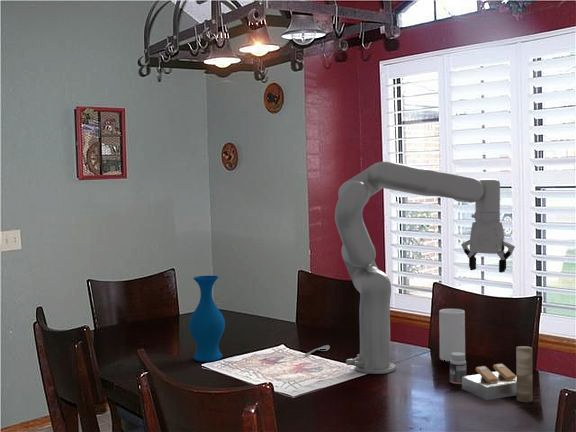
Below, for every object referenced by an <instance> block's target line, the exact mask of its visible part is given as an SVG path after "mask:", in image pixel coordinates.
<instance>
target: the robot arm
mask: <svg viewBox="0 0 576 432" xmlns="http://www.w3.org/2000/svg"><path fill="white" fill-rule="evenodd" d="M382 189H385V190H386V189H387V190H391V191H397V192H401V193H407V194H411V195H417V196H422V197H423V196H424V197H441V198H448V199H452V200H454V201H456V202H459V203H475V204H474V205H475V206H474V207H475V209H474V210H475V211H474V213H471V214H470V215H471V218H472V219H474V221H472V224H471V228H470V235H469V236H470V237H469V240H467V241H465V242H463V243H461V247H462V249H463V252H464V254H466V255H465V256H467V258H468V267H469V270H470V271H475V270H476V269H477V257H476V255H477V254H488V255H489V254H492V255H497V256H498V257H499V261H498V272H499V273H505V271H506V270H507V259H508V258H509V257H510V256H511V255H512V254H513V252H514V250H515V248H516V247H515V245H513V244H512V243H510V242H508V241H506V240H505V232H504V226H503V223H502V221H501V183H500V180H499V179H497V178H480V179H477V178H475V177H471V176H464V175H460V174H459V175H458V174H455V173H448V172H445V171H444V172H443V171H438V170H434V169H429V168H423V167H419V166H413V165H408V164H403V163H398V162H392V161H379V162H375V163H374V164H372V165H370V166H368V167H367V168H365V169H364V170H363V171H361V172H359V173H358V174H355V176H353V177H351V178H350V179H348V180H346V181H345V182H344V183H342V184H341V185H340V187H339V189H338V192H337V196H338V200H337V202H336V205H335V209H334V210H335V211H334V221H335V225H336V228H337V232H338V234H339V237H340V240H341V242H342V245H341V257H342V260H343V262H344V265H345V267H346V269H347V272H348V275H349V277H350V279H351V282H352V284H353V286H354V288H355V289H356V290H357V291H358V292H359V294H360V295H359V296H360V297H359V298H360V299H359V311H358V312H359V313H358V314H359V318H358V319H359V353H358V354H356V357H354V358H346V360H345V364H346V365H347V366H354V367H355V370H356V371H358V372H360V373H364V374H371V375H374V374H375V375H381V374H382V375H383V374H390V373H391V372H392V373H393V372H394V371H396V370H397V369H396V364H395V363H393V362H391V316H390V315H391V310H390V309H391V297H392V284H391V280H390V278H389V276H388V275H387V274H386V273H385V272H384V271H382V270H381V269H379V268H378V266H377V263H376V260H375V259H376V256H377V253H376V247H375V245H374V244H373V242H372V241H373V240H372V239H371V237H370V234H369V232H368V229H367V226H366V224H365V222H364V221H365V220H364V217H363V211H364V208H365V206H366V205H367V203H368V202H369V201H370V199H371V197H372V196H374V195H375V194H376V193H378V192H380V191H381V190H382ZM468 246H469V247H468ZM505 248H507V251H506V252H505Z"/></svg>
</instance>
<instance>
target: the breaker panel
mask: <svg viewBox="0 0 576 432" xmlns="http://www.w3.org/2000/svg"><path fill="white" fill-rule="evenodd" d="M491 372H492V373H493V374H494V375H495V376H496V377H497V378H498V381H497V382H490V383H488V382H487V381H486V380H485V379H484V378H483V377H482V376H481V375H480V374H479V373H477V374H472V375H471V374H470V375H466V376H462V384H461V390H464V391H466V392H468V393H470V394H473V395H475V396H477V397H479V398H482V399H484V400H486V401H491V400H497V399H502V398H508V397H514V396H517V375H516V377H515V379H510V380H506V379H505V378H504V377H502V376H501V375H500V374H499V373H498V372H497V371H496V370H495V371H491Z"/></svg>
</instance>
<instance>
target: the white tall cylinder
mask: <svg viewBox="0 0 576 432" xmlns="http://www.w3.org/2000/svg"><path fill="white" fill-rule="evenodd" d="M438 311H439V312H438V313H439V314H438V321H439V322H438V325H439V327H438V329H439V330H438V331H439V360H441V361H444V360H445V361H444V362H449V361H450V360H451V353H454V352H461V353H465V354H466V312H465V309H461V308H442V309H440V310H438ZM464 360H466V358H465V359H464Z"/></svg>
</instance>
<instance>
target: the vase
mask: <svg viewBox="0 0 576 432" xmlns="http://www.w3.org/2000/svg"><path fill="white" fill-rule="evenodd" d="M218 279H219V276H217V275H201V276H200V275H199V276H198V275H197V276H194V277H193V280H194V281H195V282H196V283H197V285H198V286H199V290H200V298H199V302H198V304H197V307H196V308H195V310H194V311H193V313H192V315H191V316H190V318H189V321H188V327H189V332H190V334H191V337H192V338H193V340H194V342H195V345H196V351H195V354H194V355H193V357H192V358H193V360H195V361H197V362H202V363H203V362H205V363H207V362H215V361H219V360H221V359H222V358H223V353H221V351H220V348H219V344H220V341H221V338H222V336H223V333H224V332H225V327H226V321H225V317H224V315H223V313H222V312H221V311H220V310H219V308H218V306H217V305H216V304H215V302H214V298H213V286H214V284H215V282H216V281H217V280H218Z"/></svg>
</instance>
